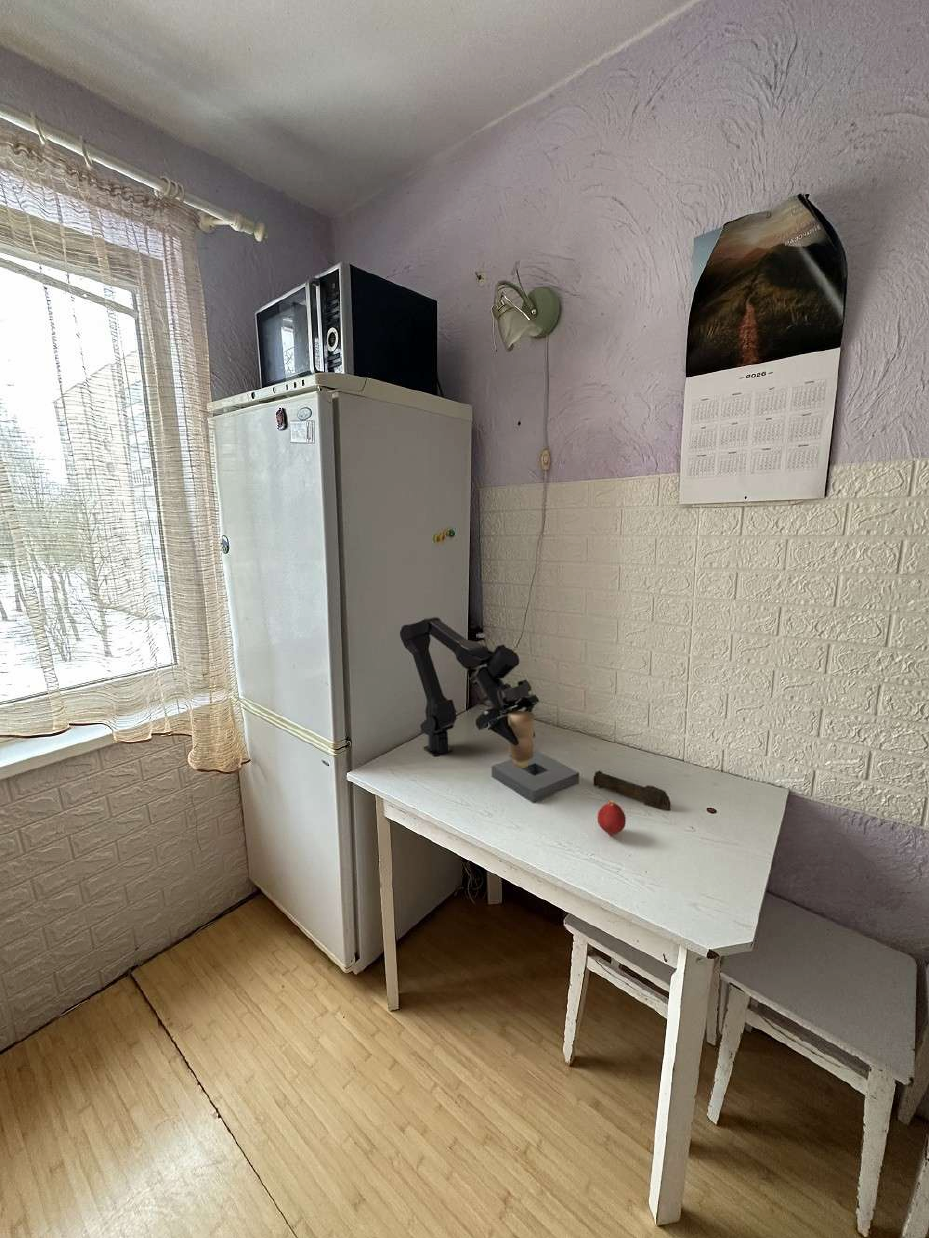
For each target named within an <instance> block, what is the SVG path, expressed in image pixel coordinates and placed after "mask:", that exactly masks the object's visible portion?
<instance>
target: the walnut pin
mask: <svg viewBox="0 0 929 1238" xmlns="http://www.w3.org/2000/svg"><path fill="white" fill-rule="evenodd" d="M509 725H510V727H511V729H512V731H513V733H514V734H515V736H516V738H517V740H518V743H519V744H518V745H517V746H515V745H514V744H512V743H511V742H509V741H508V742H509V743H508V747H509V748H508V756H509V757H510V758H511V759H513V765H514V766H516V767H518V768H525V767H527V766H528V765H529V759H531V758H533V751H534V747H535V745H534V743H535V742H534V741H535V737H534V731H535V714H534V713H533V712H532V713H531V712H528V711H514V712H511V713H510V714H509Z"/></svg>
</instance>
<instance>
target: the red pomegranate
mask: <svg viewBox="0 0 929 1238" xmlns="http://www.w3.org/2000/svg"><path fill="white" fill-rule="evenodd" d="M626 817H627V816H626V814H625V812H624V810H623V809H622V808H621V806H619V804H617V803H616V802H615V801H614V800H609V801H608V803H605V804H603V805H602V806H601V807H600V809H599V810H598V813H597V823H598V826H599V827H600V828H601V830H602V831H603V832H605V833H606V834H607V835H609V836H614V835H617V834H620V833H621V832H622V831H623V830H624V829H625V827H626V821H627V819H626Z"/></svg>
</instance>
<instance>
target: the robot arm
mask: <svg viewBox="0 0 929 1238" xmlns="http://www.w3.org/2000/svg"><path fill="white" fill-rule="evenodd" d="M399 637H400V639H401V641H402V644H403V646H404V648H405V649H407V651H408V652H409V653H411V654H412V657H413V659H414V663H415V666H416V669H417V672H418V676H419V679H420V682H421V686H422V688H423V691H424V695H425V699H426V706H425V711H424V712H425V720H424V721H423V722H422V723H420V726H419V727H420V731H421V733H423V734H425V735H426V736H427V745H426V746H423V747H422V748H423V750H424V751H426V752H427V753H429V754H430V755H431V756H433V757H436V756H439V755H440V756H441V755H442V754H446V753H450V752H452V751H453V748H452V747H450V746H449V737H448V736H449V735H448V734H449V733H448V731H449V730H452V729H454V725H455V723H456V721H457V717H458V715H457V709H456V707H455V704H454V701H453V699H448V698H447V697H446V696H445V695H444V693H443V690H442V687H441V684H440V680H439V678H438V674H437V671H436V669H435V665H434V662H433V659H432V656H431V652H430V646H431V645H430V644H431V639H432V638H431V637H433V638H434V639H436V640H437V641H438V642H440V643H441V644H442V645H443V646H445V647H446V648H448V649H449V650H450V651H451V652H452V653H453V654H454V655H455V658H456V661H457V662H458V663H459V664H460V665H461V666H462V668H464V669H465V670H468V671H470V670H474V669H477V668H479V669H478V670H476V671H472V672H471V677H470V683H471V684H472V683H475V682H477V684H478V685H479V687H480V689H481V690H482V692H483V693H484V695H485V696H484V697H483V701H484V702H485V703H486V702H489V703H490V706H491V708H488V709H486V710H484V711H482V713H481V714H479V715H478V716H477V717H476V719H475V726H476V728H477V729H478V730H479V731H482V730H485V729H487V730H488V731H492V732H493V733H496V734H497V735H499V736H500V737H502V738H504V739H505V740H506V741H508V742H511V743H512V744H514V745H515V746H517V745H518V744H519V743H518V740H517V738H516V736H515V734H514V733H513V731H512V729H511V727H510V722H509V716H510V713H511V712H514V711H528V712H531V713H533V709H535V706H536V705H538V704H539V703H540V700H539V698H538V696H537V695H536V694H533V693H530V692H531V691H532V686H531V684H530V682H529V681H528V679H523V680H520V681H517V685H516V686H513V687H512V686H511V684H510V683H505V682H504V681H503V679H505V678H506V677H507V676H509V674H511V672H513V670H514V669H516V668H517V667H518V666H519V664H520V657H519V656H518V654H517V652H515V650H512V649H511V648H509V647H507V646H506V645H505V644H500V645H497V646H496V648H495V650H490V649H488V647H487V646H486V645H485V644H483V643H480V642H477V641H474V640H470V639H467V638H465V637H464V636H462V635H461V634H460V633H458V632H457V631H455V630H454V629H452V628H451V627H450V626H449V625H447V624H445V622H443V621H442V620H441V618H440V617H437V616H434V617H433V616H432V617H427V618H424V619H422V620H420V621H418V622H413V623H408V624H404V625H402V626H401V629H400V632H399ZM534 738H536V733H535V730H534Z"/></svg>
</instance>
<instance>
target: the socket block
mask: <svg viewBox="0 0 929 1238" xmlns="http://www.w3.org/2000/svg"><path fill="white" fill-rule="evenodd" d="M491 777H492V778H493V779H495V780H496V781H498V782H499V783H501V784H502V785H503V786H505V787H507V788H509V789H510V790H512V791H513V792H514V793H516V794H519V795H520V796H522V797H523V798H524V799H526V800H528V801H530V802H531V803H532V804H534V803H537V802H538V801H541V800H543V799H546V798H548V797H550V796H552V795H555V794H557V793H560V792H562V791H564V790H567V789H569V788H571V787H574V786H576V785H578V784H579V783H580V782H579V781H580V772H579V771H577V770H575V769H573V768H571V767H569V766H568V765H565V764H563V763H562V762H560V761H557V760H556V759H553V758H551V757H550V756H548V755H546V754H544V753H542V752H540V751H537V750H533V758H531V759H529V765H528V766H527V767H525V768H518V767H516V766H514V765H513V758H511V759H507V760H505V761H502V762H500V763H499V762H498V763H497V764H494V765H492V766H491Z"/></svg>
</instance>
